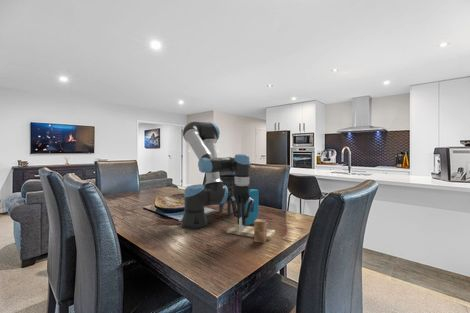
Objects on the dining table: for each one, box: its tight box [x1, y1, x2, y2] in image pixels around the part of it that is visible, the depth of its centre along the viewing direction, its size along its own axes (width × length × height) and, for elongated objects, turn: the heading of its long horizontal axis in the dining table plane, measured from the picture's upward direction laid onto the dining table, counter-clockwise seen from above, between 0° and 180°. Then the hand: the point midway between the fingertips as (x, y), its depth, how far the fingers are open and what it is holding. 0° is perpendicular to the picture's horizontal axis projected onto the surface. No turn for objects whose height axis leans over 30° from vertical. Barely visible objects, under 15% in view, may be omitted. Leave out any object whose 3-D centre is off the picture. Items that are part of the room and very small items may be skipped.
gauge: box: [253, 218, 269, 244], centre depth 113 cm, size 5×12×10 cm, turn 155°
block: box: [241, 188, 260, 226], centre depth 137 cm, size 12×5×20 cm, turn 125°
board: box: [226, 223, 276, 241], centre depth 121 cm, size 24×10×2 cm, turn 65°
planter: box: [218, 174, 237, 217], centre depth 160 cm, size 20×20×26 cm
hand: (241, 230), depth 115 cm, fingers closed
